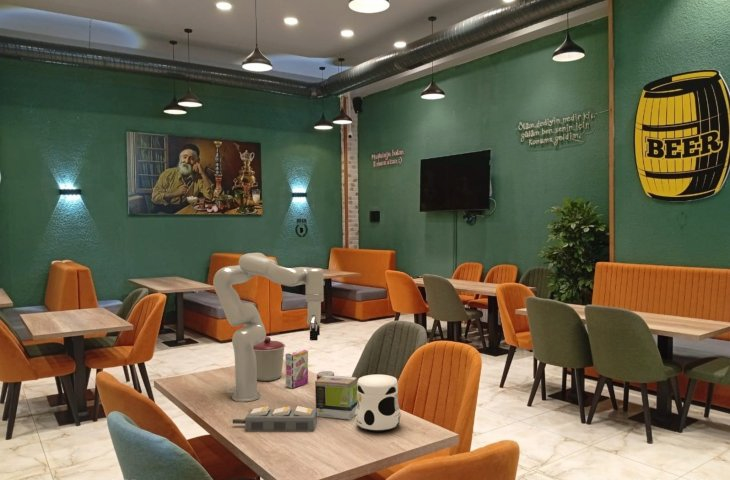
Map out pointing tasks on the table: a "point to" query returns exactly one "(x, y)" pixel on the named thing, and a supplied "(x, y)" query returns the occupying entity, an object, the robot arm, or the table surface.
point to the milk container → (377, 403)
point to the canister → (269, 359)
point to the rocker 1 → (260, 411)
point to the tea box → (336, 396)
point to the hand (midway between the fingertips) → (314, 337)
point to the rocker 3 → (303, 411)
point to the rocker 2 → (282, 411)
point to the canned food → (324, 374)
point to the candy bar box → (296, 368)
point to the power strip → (279, 422)
